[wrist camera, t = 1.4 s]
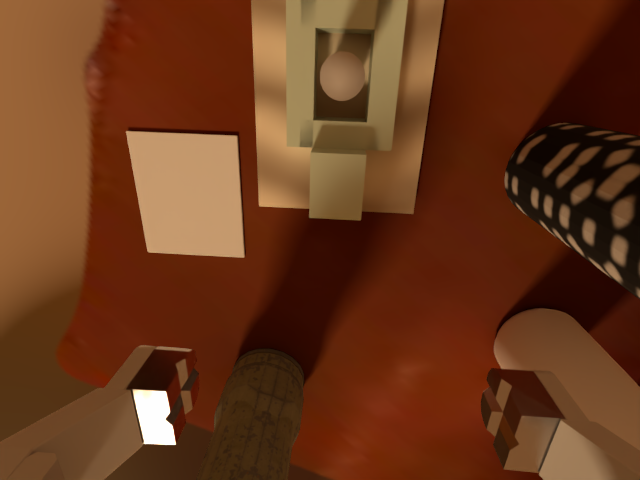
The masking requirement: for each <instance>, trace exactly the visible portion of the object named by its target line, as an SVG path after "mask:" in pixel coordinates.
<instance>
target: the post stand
mask: <svg viewBox="0 0 640 480" xmlns="http://www.w3.org/2000/svg"><path fill="white" fill-rule="evenodd" d="M443 6H444V0H408V5H407V14H406V23H405V32H404V41H403V50H402V59H401V68H400V77H399V86H398V95H397V104H396V113H395V122H394V131H393V140H392V149H391V151H379V150H365V152H366V167H365V179H364V190H363V202H362V211H365V212H386V213H406V214H413V212H414V205H415V198H416V191H417V185H418V178H419V171H420V164H421V157H422V150H423V143H424V137H425V130H426V123H427V116H428V109H429V102H430V95H431V88H432V82H433V75H434V68H435V61H436V54H437V47H438V40H439V34H440V27H441V20H442V13H443ZM251 8H252V34H253V60H254V86H255V113H256V139H257V165H258V191H259V206H265V207H285V208H305V209H309V200H310V153H311V150H312V148H309V147H287V107H286V0H251ZM371 35H372V34H345V33H318V59H317V97H316V117H341V118H365V111H366V98H367V86H368V73H369V60H370V47H371Z"/></svg>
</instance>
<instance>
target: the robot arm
mask: <svg viewBox="0 0 640 480" xmlns="http://www.w3.org/2000/svg"><path fill="white" fill-rule="evenodd" d="M196 362H197V357H196V351H194V350H193V349H183V348H172V347H160V346H159V347H156V346H145V345H141V346H139V347H137V348H136V349H135V350H134V351H133V353H132V354H131V355H130V356H129V358H128V359H127V360H126V361H125V363H124V364H123V365H122V366H121V368H120V369H119V370H118V372H117V373H116V374H115V375H114V377H113V378H112V379H111V380H110V382H109V383H108V384H107V385H106V387H105V388H98V389H96V390H94V391H92V392H90V393H88V394H87V395H85V396H83V397H81V398H79V399H78V400H76V401H74V402H72V403H70V404H68V405H67V406H65V407H63V408H61V409H59V410H58V411H56V412H54V413H52V414H50V415H48V416H47V417H45V418H43V419H41V420H39V421H38V422H36V423H34V424H32V425H30V426H29V427H27V428H25V429H23V430H21V431H19V432H18V433H16V434H14V435H12V436H10V437H8V438H7V439H5V440H3V441H1V442H0V480H104V479H105V478H106V477H107V476H108V475H110V474H111V473H112V472H113V471H114V470H115V469H116V468H118V467H119V466H120V465H121V464H122V463H123V462H124V461H125V460H127V459H128V458H129V457H130V456H131V455H133V453H135V452H136V451H137V450H138V449H139V448H141V447H142V446H143V443H146V444H168V445H176V443H177V441H178V439H179V437H180V434H181V432H182V430H183V428H184V426H185V424H186V419H185V414H186V413H187V412H189V411H190V410H191V409H193V407H194V404H195V402H196V400H197V396H198V391H199V382H200V380H199V373H198V372H197V371H196V370H195V369H194V366H195V364H196ZM487 382H488V384H489V386H490V387H489V388H488V389H486V390H485V391H484V392H483V395H482V399H481V413H482V417H483V421H484V424H485V426H486V429H487V430H488V431H489V432H491V433H492V434H493V435H494V436H495V440H494V444H493V445H494V448H495V450H496V452H497V455H498V457H499V459H500V462H501V464H502V466H503V469H507V470H517V471H526V472H536V473H539V475H540V476H541V477H542V478H543V479H544V480H640V450H638V449H637V448H635V447H634V446H632V445H631V444H629V443H628V442H626V441H625V440H623V439H621V438H620V437H618V436H617V435H615V434H614V433H612V432H611V431H609V430H608V429H606V428H605V427H603V426H602V425H600V424H599V423H597V422H592V421H589V420H588V418H587V417H586V416H585V414H584V413H583V412H582V410H581V409H580V408H579V406H578V405H577V404H576V402H575V401H574V400H573V398H572V397H571V396H570V394H569V393H568V392H567V390H566V389H565V388H564V386H563V385H562V384H561V382H560V381H559V380H558V378H557V377H556V376H555V374H554V373H552V372H550V371H541V370H514V369H497V368H492V369H491V370H490V371H489V373H488V376H487Z"/></svg>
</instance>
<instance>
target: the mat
mask: <svg viewBox="0 0 640 480" xmlns="http://www.w3.org/2000/svg"><path fill="white" fill-rule="evenodd" d="M126 134H127V140H128V145H129V151H130V156H131V162H132V168H133V173H134V179H135V184H136V190H137V195H138V201H139V207H140V212H141V218H142V223H143V229H144V234H145V240H146V245H147V251H148V252H152V253H170V254H188V255H206V256H224V257H242V258H244V257H245V249H244V232H243V215H242V198H241V181H240V164H239V147H238V135H215V134H191V133H167V132H144V131H126Z"/></svg>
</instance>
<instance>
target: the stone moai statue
mask: <svg viewBox="0 0 640 480" xmlns="http://www.w3.org/2000/svg"><path fill="white" fill-rule="evenodd" d="M303 386H304V372H303V370H302V368H301V366H300V364H299V363H298V362H297V361H296V360H295V359H294V358H293V357H291V356H289V355H288V354H286V353H284V352H282V351H278V350H274V349H256V350H252V351H248V352H247V353H245V354H244V355H242V356H241V357H240V358H239V359H238V360H237V362H236V363H235V365H234V368H233V372H232V374H231V376H230V377H229V378H228V380H227V382H226V385H225V387H224V390H223V393H222V395H221V398H220V400H219V403H218V406H217V408H216V412H215V417H214V432H213V435H212V438H211V440H210V443H209V446H208V448H207V451H206V454H205V457H204V459H203V462H202V465H201V468H200V470H199V473H198V476H197V479H196V480H287V479H288V472H289V465H290V458H291V451H292V446H293V444H294V442H295V440H296V438H297V436H298V433H299V430H300V424H301V415H302V407H303Z"/></svg>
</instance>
